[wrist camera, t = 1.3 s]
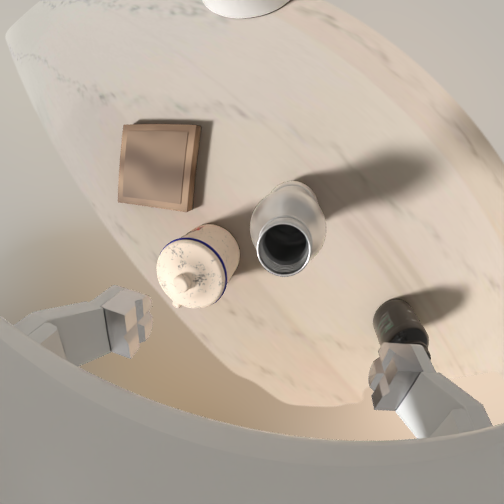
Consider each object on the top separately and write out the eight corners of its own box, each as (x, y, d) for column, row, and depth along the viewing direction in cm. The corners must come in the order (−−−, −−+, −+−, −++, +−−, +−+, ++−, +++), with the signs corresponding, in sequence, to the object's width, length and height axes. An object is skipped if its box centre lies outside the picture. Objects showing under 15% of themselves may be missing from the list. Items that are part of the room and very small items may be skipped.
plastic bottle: (268, 227, 38) (234, 293, 19) (269, 178, 36) (233, 195, 17) (315, 230, 37) (328, 300, 18) (318, 180, 35) (338, 200, 16)
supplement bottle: (419, 309, 38) (447, 354, 26) (393, 340, 40) (411, 389, 29) (390, 290, 37) (416, 335, 26) (363, 323, 40) (378, 374, 29)
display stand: (130, 125, 36) (123, 124, 34) (201, 126, 35) (195, 124, 33) (124, 200, 40) (117, 202, 38) (192, 209, 39) (186, 212, 37)
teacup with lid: (200, 210, 39) (162, 229, 28) (253, 244, 39) (234, 277, 28) (167, 273, 43) (129, 307, 32) (214, 304, 43) (188, 348, 32)
